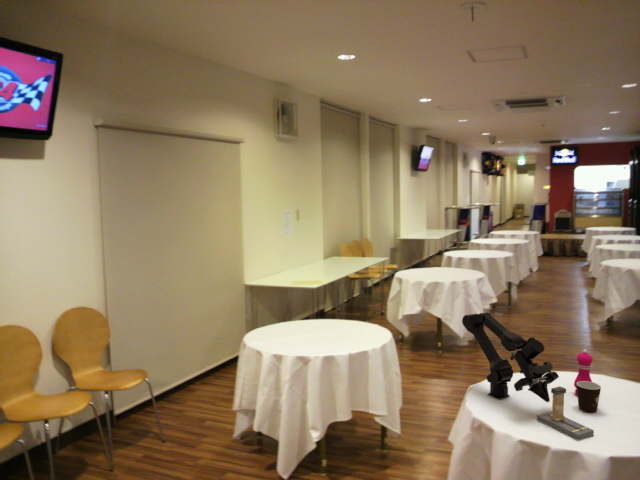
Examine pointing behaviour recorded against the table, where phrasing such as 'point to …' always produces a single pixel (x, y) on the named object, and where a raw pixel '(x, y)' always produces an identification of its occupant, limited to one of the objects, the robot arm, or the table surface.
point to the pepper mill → (583, 368)
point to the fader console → (566, 426)
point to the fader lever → (558, 403)
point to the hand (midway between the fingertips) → (548, 401)
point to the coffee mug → (588, 396)
